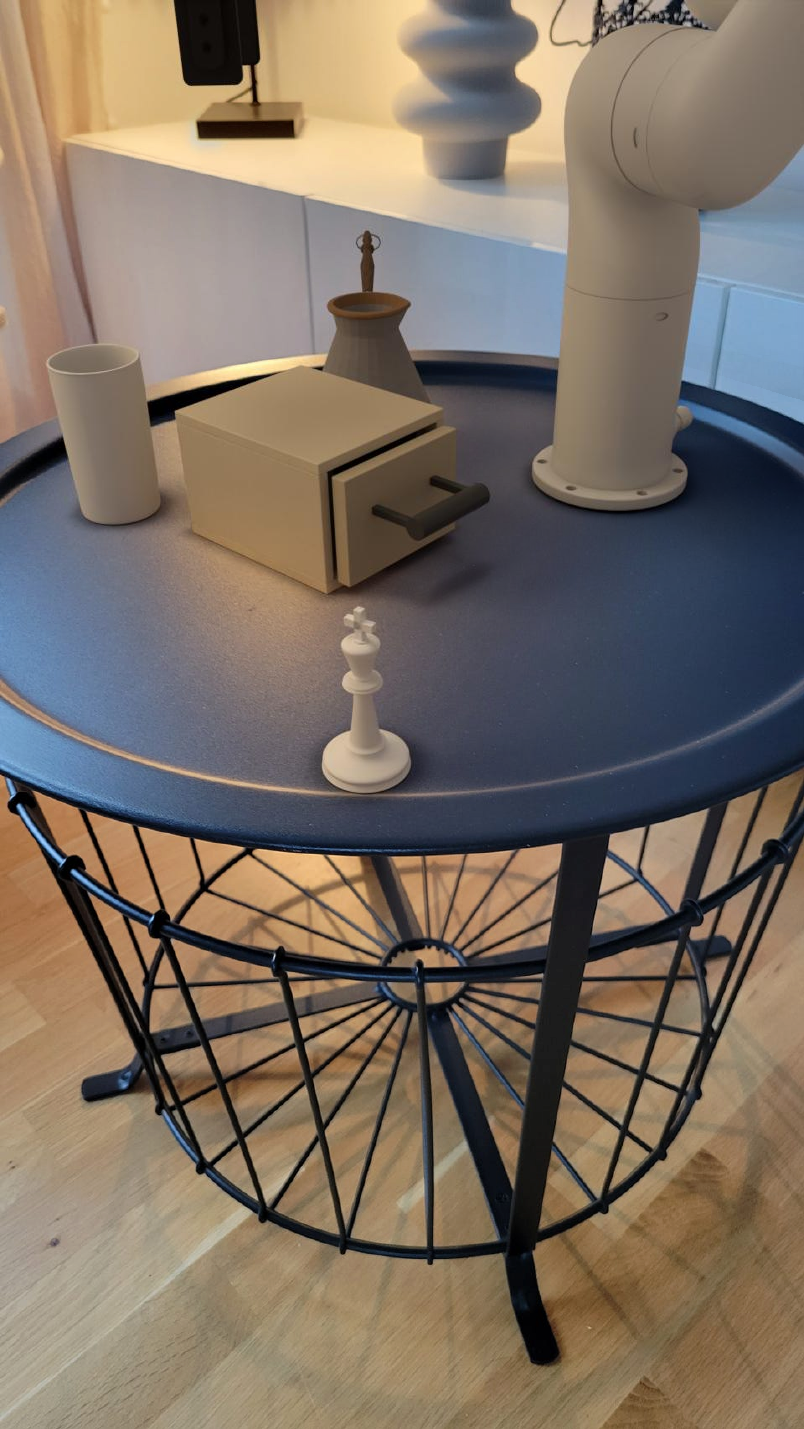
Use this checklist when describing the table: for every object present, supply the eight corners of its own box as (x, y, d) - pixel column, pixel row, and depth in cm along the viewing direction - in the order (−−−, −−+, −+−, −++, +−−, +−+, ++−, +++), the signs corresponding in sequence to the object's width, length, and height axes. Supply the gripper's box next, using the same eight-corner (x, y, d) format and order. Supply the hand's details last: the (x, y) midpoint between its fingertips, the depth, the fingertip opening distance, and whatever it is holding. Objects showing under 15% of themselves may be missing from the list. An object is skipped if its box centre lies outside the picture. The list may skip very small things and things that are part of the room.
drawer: (506, 548, 76) (512, 445, 71) (402, 611, 69) (400, 502, 65) (327, 480, 86) (321, 386, 81) (220, 529, 79) (207, 430, 75)
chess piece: (379, 805, 56) (373, 646, 50) (304, 774, 58) (289, 618, 52) (427, 754, 59) (427, 600, 53) (354, 727, 61) (346, 575, 55)
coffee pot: (440, 480, 88) (441, 293, 79) (302, 483, 88) (287, 296, 79) (431, 389, 105) (431, 227, 96) (315, 392, 105) (304, 230, 96)
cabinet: (443, 530, 81) (444, 408, 75) (327, 594, 73) (318, 464, 67) (309, 478, 88) (301, 364, 83) (192, 532, 81) (174, 410, 75)
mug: (153, 527, 82) (127, 373, 74) (68, 527, 82) (33, 374, 75) (180, 473, 90) (158, 329, 82) (102, 473, 90) (73, 330, 83)
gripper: (242, -382, 44) (277, 93, 54) (276, -309, 58) (299, 58, 68) (61, -378, 44) (131, 95, 54) (139, -306, 58) (183, 60, 68)
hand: (225, 74), depth 61 cm, fingers open, 9 cm apart
